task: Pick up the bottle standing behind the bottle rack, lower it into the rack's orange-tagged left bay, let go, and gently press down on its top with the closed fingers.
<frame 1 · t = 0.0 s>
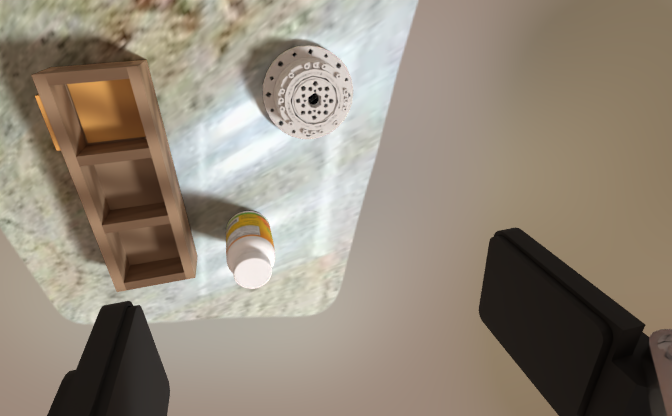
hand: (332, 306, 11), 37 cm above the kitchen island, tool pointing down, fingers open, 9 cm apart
supplement bottle: (248, 227, 50), on the kitchen island
mechanical component: (306, 92, 45), on the kitchen island
bottle rack: (134, 175, 44), on the kitchen island
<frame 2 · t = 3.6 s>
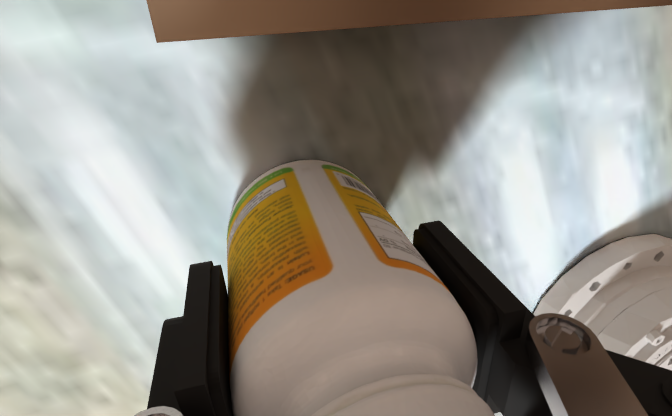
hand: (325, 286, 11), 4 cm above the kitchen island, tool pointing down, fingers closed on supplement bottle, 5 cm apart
supplement bottle: (303, 224, 15), on the kitchen island, touching gripper
mechanical component: (597, 307, 22), on the kitchen island
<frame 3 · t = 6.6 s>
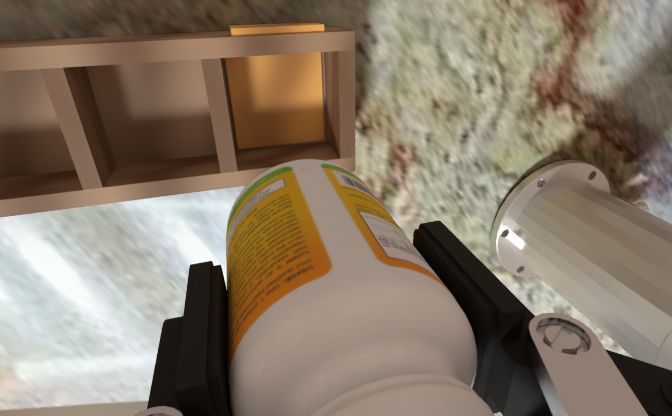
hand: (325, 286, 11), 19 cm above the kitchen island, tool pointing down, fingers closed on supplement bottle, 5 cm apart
supplement bottle: (302, 223, 14), point 15 cm above the kitchen island, touching gripper
bottle rack: (159, 106, 26), on the kitchen island
when the fingers open (6 cm above the kitchen island, at t = 9.8 s): supplement bottle drops 1 cm, resting on bottle rack.
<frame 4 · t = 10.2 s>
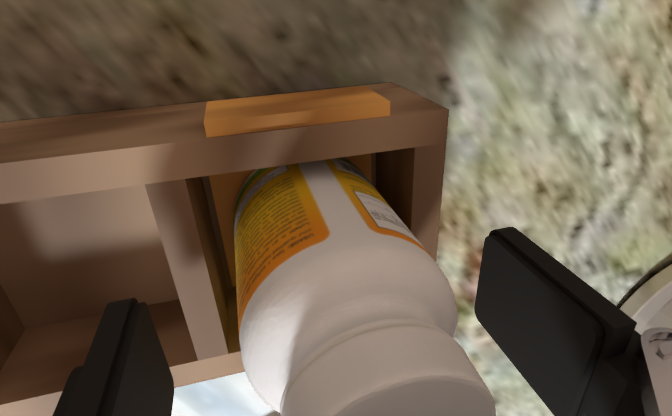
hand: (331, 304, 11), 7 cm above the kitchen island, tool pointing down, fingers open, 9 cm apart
supplement bottle: (303, 208, 16), point 1 cm above the kitchen island, touching bottle rack
bottle rack: (97, 228, 15), on the kitchen island
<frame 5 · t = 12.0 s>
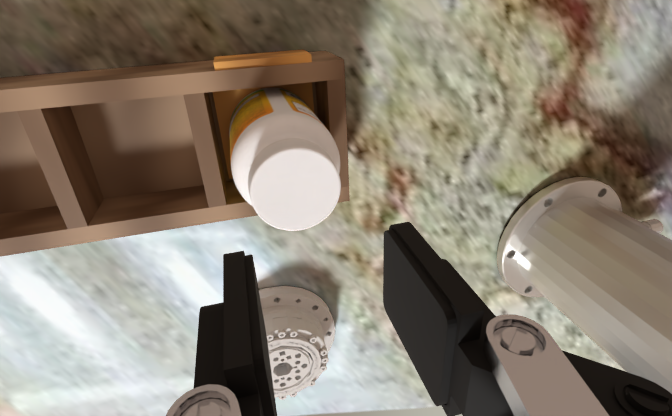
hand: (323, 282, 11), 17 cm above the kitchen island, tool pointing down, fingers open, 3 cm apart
supplement bottle: (272, 128, 26), point 1 cm above the kitchen island, touching bottle rack
mechanical component: (275, 327, 35), on the kitchen island
bottle rack: (147, 138, 25), on the kitchen island
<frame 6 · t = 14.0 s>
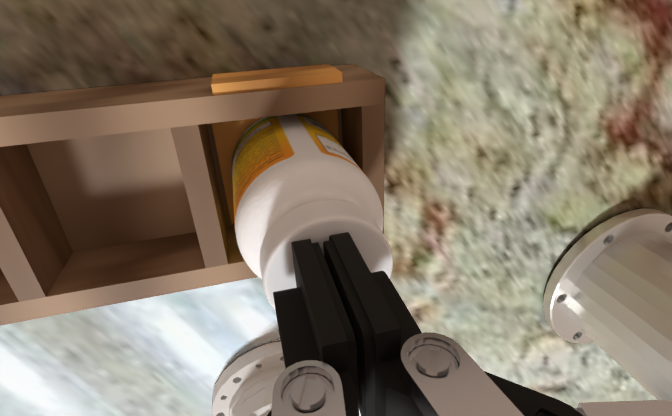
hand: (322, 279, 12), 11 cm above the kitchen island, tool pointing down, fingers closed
supplement bottle: (285, 161, 20), point 1 cm above the kitchen island, touching bottle rack, gripper
mechanical component: (282, 384, 30), on the kitchen island
bottle rack: (128, 174, 20), on the kitchen island
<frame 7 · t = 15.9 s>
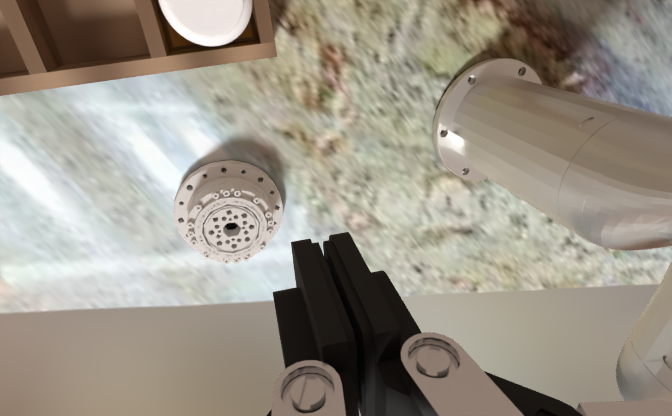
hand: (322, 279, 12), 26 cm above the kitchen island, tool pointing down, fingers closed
mechanical component: (229, 206, 39), on the kitchen island
bottle rack: (98, 9, 29), on the kitchen island
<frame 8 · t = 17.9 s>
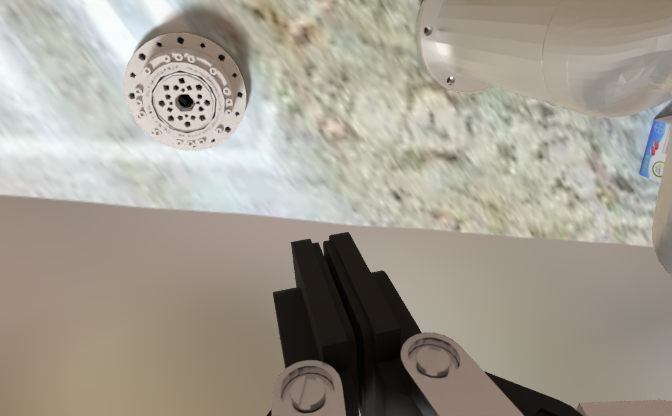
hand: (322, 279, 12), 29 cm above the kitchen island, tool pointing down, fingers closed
medicine box: (657, 143, 52), on the kitchen island
mechanical component: (189, 91, 36), on the kitchen island
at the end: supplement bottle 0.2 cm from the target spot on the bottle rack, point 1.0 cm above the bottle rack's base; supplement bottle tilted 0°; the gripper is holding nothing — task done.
